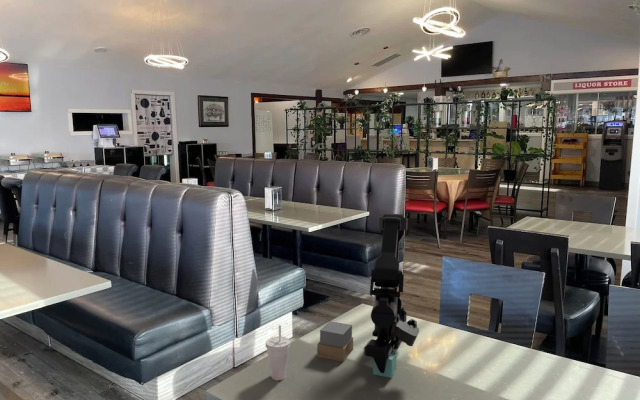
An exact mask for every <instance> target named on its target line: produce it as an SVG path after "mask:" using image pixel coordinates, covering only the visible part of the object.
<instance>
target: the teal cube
mask: <svg viewBox="0 0 640 400" xmlns="http://www.w3.org/2000/svg"><path fill="white" fill-rule="evenodd" d="M397 356H398V355H397V351H396V350H393V353H392V354H391V356H390V357H389V359H387V362H386V367H385V372H384V373H380V371H379V369H378V367H377V365H376V363H375V361H374V359H373V358H372V359H373V360H372V361H373V362H372V363H373V364H372V374H373V375H374V376H381V377H384V378H388V379H389V378H390V379H392V378H393V376H394V374H395V372H396V370H397Z"/></svg>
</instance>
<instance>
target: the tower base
mask: <svg viewBox="0 0 640 400" xmlns="http://www.w3.org/2000/svg"><path fill="white" fill-rule="evenodd" d="M316 349H317V350H316V353H317V355H316V356H317V357H318V358H322V357H323V359H327V360H328V359H329V360H334V361H338V362H343V363H344V362H345V361H346V360H347V359H348V357H349V356H350V354H352V352H353V350H354V337H353V336H352V338H351V340H350V341H349V342H348V343H347V344H346V345H345V347H344V348H340V347H335V346H330V345H325V344H320V341H318V343H316Z"/></svg>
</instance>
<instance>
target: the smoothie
mask: <svg viewBox="0 0 640 400" xmlns="http://www.w3.org/2000/svg"><path fill="white" fill-rule="evenodd" d="M290 346H291V340H290V339H289V338H288V337H286V336H282V325H280V324H279V325H278V336H277V335H276V336H272V337H270V338H268V339H266V341H265V348H266V350H267V357H268V362H269V363H268V364H269V370H270V376H271V379H272V380H275V381H281V380H284V379H285V378H286V376H287V366H288V357H289V351H290V350H289V348H290Z"/></svg>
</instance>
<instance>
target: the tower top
mask: <svg viewBox="0 0 640 400" xmlns="http://www.w3.org/2000/svg"><path fill="white" fill-rule="evenodd" d="M352 337H353V324H349V323H342V322H337V321H333V320H330V321H329V320H328V322H327V323H326V324H325V325H324V326H322V327H321V329H320V331H319V342H320V344H325V345H330V346H335V347H340V348H344V347H345V345H346V344H347V343H348V342H349V341H350V340H351V338H352Z"/></svg>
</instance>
